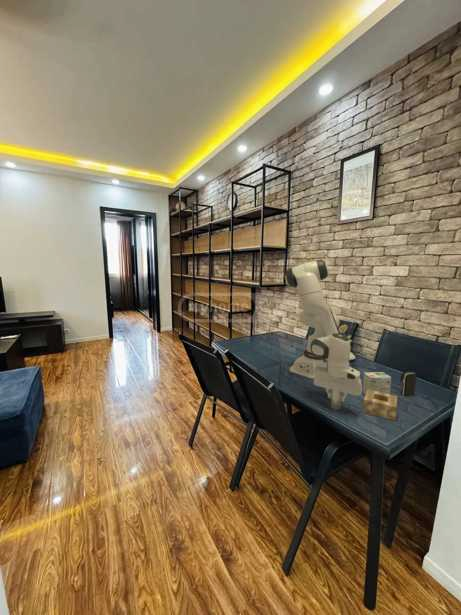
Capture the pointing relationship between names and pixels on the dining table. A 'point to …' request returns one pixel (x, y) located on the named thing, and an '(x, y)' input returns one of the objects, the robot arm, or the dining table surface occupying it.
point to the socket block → (380, 404)
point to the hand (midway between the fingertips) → (336, 399)
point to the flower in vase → (343, 329)
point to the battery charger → (408, 383)
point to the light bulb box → (376, 382)
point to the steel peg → (335, 399)
